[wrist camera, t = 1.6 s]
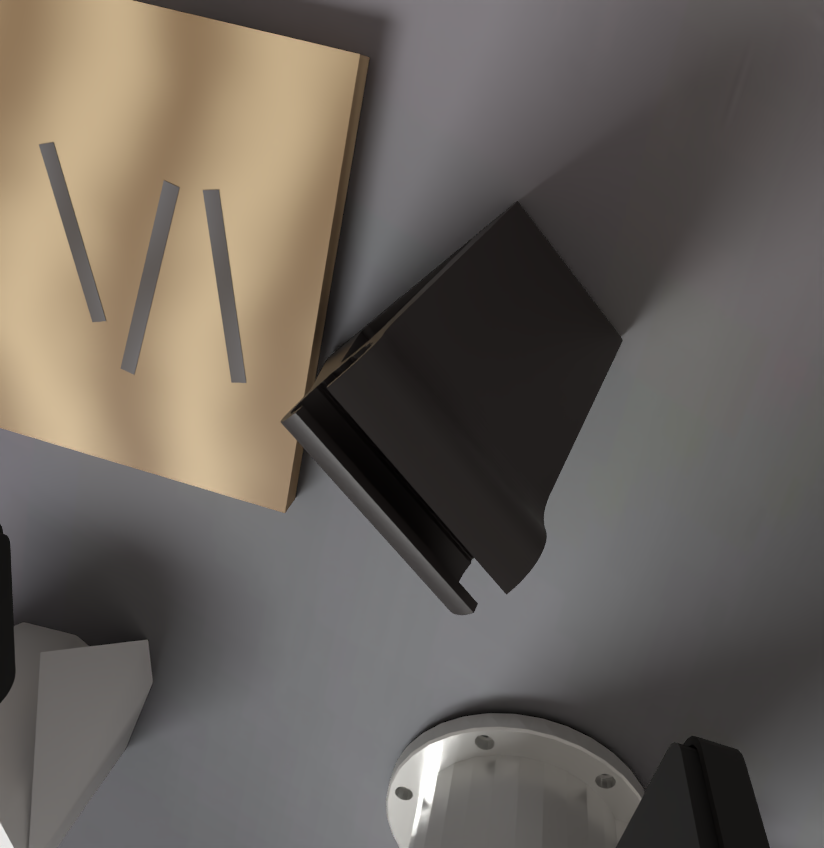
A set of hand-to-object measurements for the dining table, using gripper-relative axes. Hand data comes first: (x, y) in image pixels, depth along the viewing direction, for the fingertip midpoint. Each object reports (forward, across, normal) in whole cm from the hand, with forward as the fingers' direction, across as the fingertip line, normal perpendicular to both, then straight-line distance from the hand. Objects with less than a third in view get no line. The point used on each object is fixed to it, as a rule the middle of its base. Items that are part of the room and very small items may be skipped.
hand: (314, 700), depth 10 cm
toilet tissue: (+18, +16, +24) cm, 34 cm away
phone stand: (+18, 0, 0) cm, 18 cm away
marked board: (+18, +12, 0) cm, 21 cm away
